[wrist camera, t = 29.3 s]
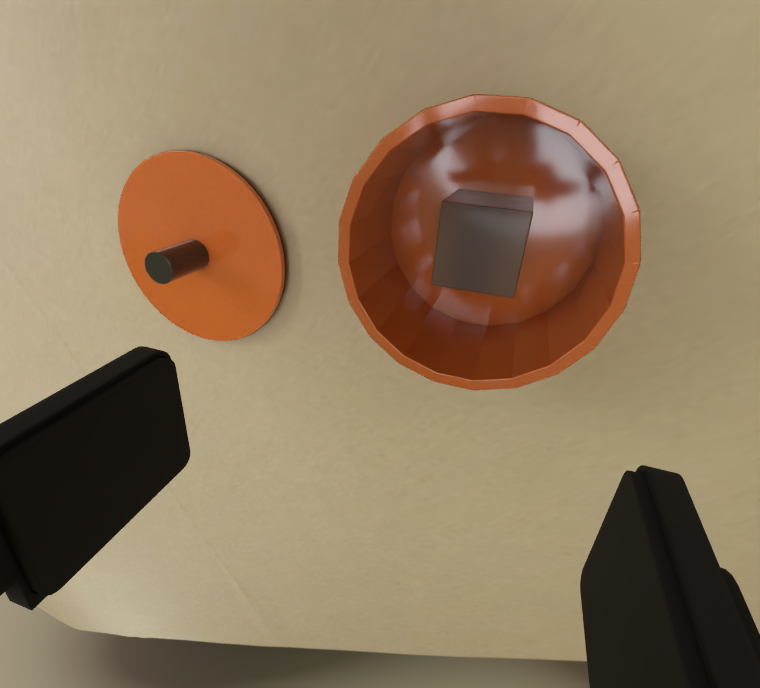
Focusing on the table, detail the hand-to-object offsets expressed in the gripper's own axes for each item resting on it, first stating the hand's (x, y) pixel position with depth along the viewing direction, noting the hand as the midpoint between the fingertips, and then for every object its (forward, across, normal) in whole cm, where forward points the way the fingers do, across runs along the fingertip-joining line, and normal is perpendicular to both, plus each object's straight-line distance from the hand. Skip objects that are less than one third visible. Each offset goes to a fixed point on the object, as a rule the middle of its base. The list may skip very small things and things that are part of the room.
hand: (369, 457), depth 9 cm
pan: (+26, 0, 0) cm, 26 cm away
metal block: (+25, 0, 0) cm, 25 cm away
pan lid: (+25, +24, +6) cm, 35 cm away
